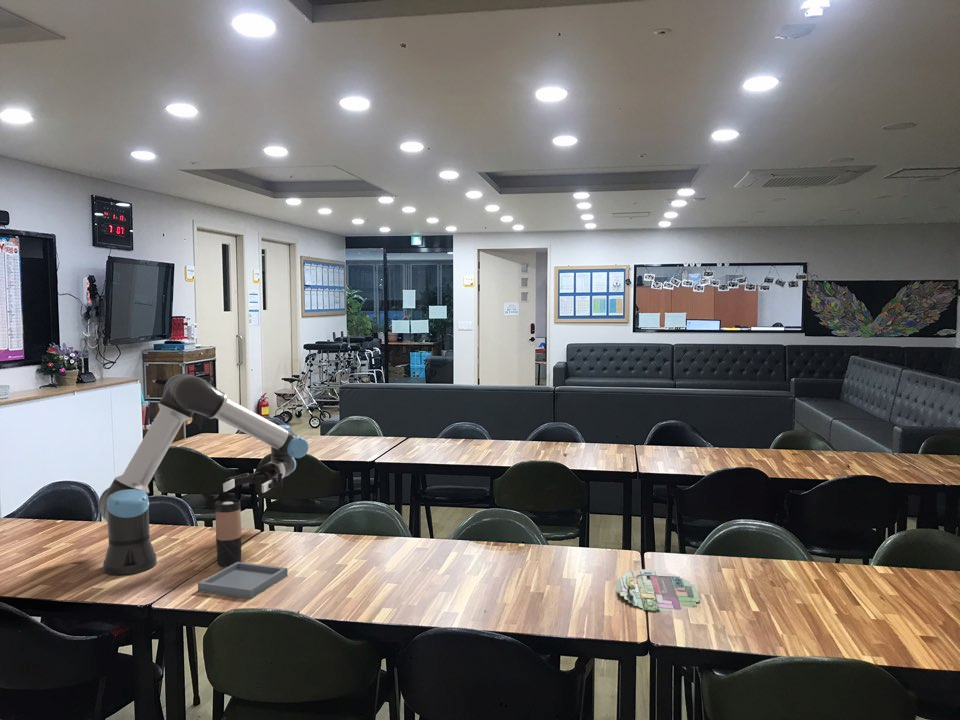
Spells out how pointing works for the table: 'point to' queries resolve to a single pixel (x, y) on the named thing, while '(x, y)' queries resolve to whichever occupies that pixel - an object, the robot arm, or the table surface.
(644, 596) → the city model
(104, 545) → the table surface
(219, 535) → the travel mug
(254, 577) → the slate tray
